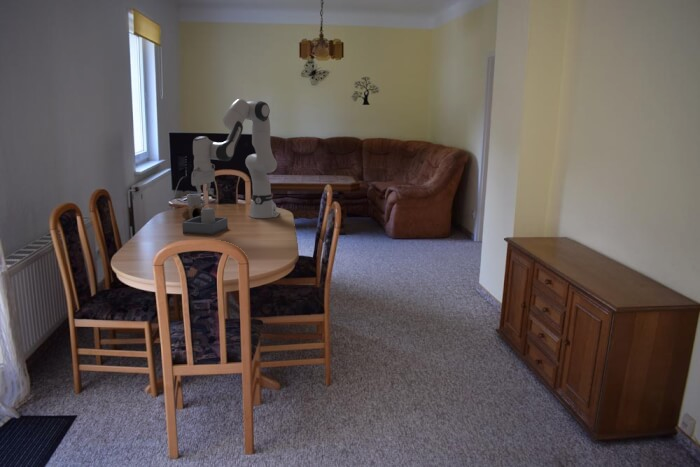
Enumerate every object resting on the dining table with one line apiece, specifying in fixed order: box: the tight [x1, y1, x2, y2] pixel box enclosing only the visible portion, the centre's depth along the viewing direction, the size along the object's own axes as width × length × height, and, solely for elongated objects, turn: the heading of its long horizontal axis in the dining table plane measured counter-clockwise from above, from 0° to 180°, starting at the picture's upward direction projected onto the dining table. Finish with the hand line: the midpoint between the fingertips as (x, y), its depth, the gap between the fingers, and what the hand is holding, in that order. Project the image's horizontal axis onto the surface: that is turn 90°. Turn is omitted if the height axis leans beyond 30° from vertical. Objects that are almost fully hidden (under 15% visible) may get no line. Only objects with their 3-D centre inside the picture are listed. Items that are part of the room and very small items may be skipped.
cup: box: [186, 193, 206, 208], centre depth 359 cm, size 10×9×12 cm
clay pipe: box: [181, 205, 203, 221], centre depth 337 cm, size 19×11×15 cm
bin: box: [181, 216, 229, 236], centre depth 311 cm, size 18×18×6 cm
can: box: [201, 206, 216, 224], centre depth 309 cm, size 8×8×12 cm
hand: (203, 191), depth 307 cm, fingers open, 8 cm apart
